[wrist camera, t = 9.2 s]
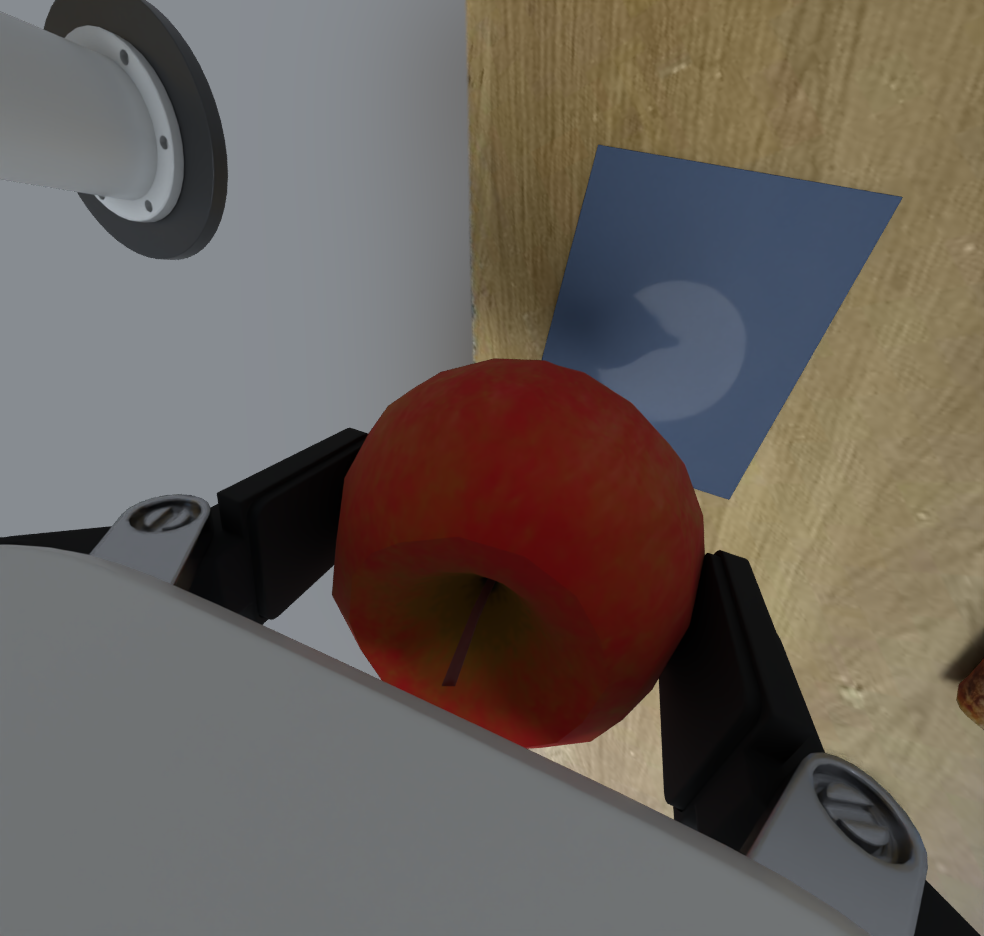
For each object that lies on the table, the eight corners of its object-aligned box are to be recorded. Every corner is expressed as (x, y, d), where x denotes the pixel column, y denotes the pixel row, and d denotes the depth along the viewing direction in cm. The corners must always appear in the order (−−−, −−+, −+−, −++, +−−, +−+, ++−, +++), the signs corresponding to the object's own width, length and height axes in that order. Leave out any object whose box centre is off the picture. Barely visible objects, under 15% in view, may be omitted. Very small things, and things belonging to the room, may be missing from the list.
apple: (429, 365, 16) (146, 478, 7) (656, 295, 13) (701, 328, 4) (493, 547, 19) (350, 807, 10) (695, 528, 15) (782, 904, 6)
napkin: (523, 431, 35) (522, 432, 35) (598, 145, 26) (598, 144, 25) (728, 498, 32) (729, 499, 31) (900, 197, 22) (903, 196, 22)
